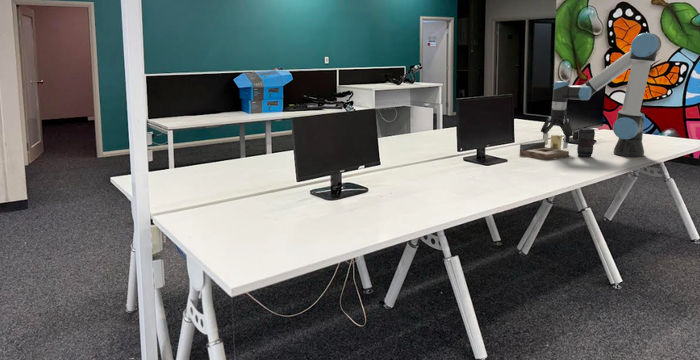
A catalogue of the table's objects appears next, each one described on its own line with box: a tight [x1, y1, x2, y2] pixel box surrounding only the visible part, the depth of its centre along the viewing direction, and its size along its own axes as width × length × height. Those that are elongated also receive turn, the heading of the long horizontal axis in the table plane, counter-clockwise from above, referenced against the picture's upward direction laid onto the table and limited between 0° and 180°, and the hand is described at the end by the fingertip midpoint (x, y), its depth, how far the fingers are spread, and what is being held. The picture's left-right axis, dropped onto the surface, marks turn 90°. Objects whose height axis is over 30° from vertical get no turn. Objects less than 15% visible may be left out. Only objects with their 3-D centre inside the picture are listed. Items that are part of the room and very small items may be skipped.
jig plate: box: [519, 140, 570, 161], centre depth 304 cm, size 18×18×6 cm
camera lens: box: [576, 128, 596, 159], centre depth 301 cm, size 8×8×15 cm
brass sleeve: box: [549, 134, 563, 150], centre depth 317 cm, size 6×6×9 cm
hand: (555, 146), depth 318 cm, fingers open, 13 cm apart
